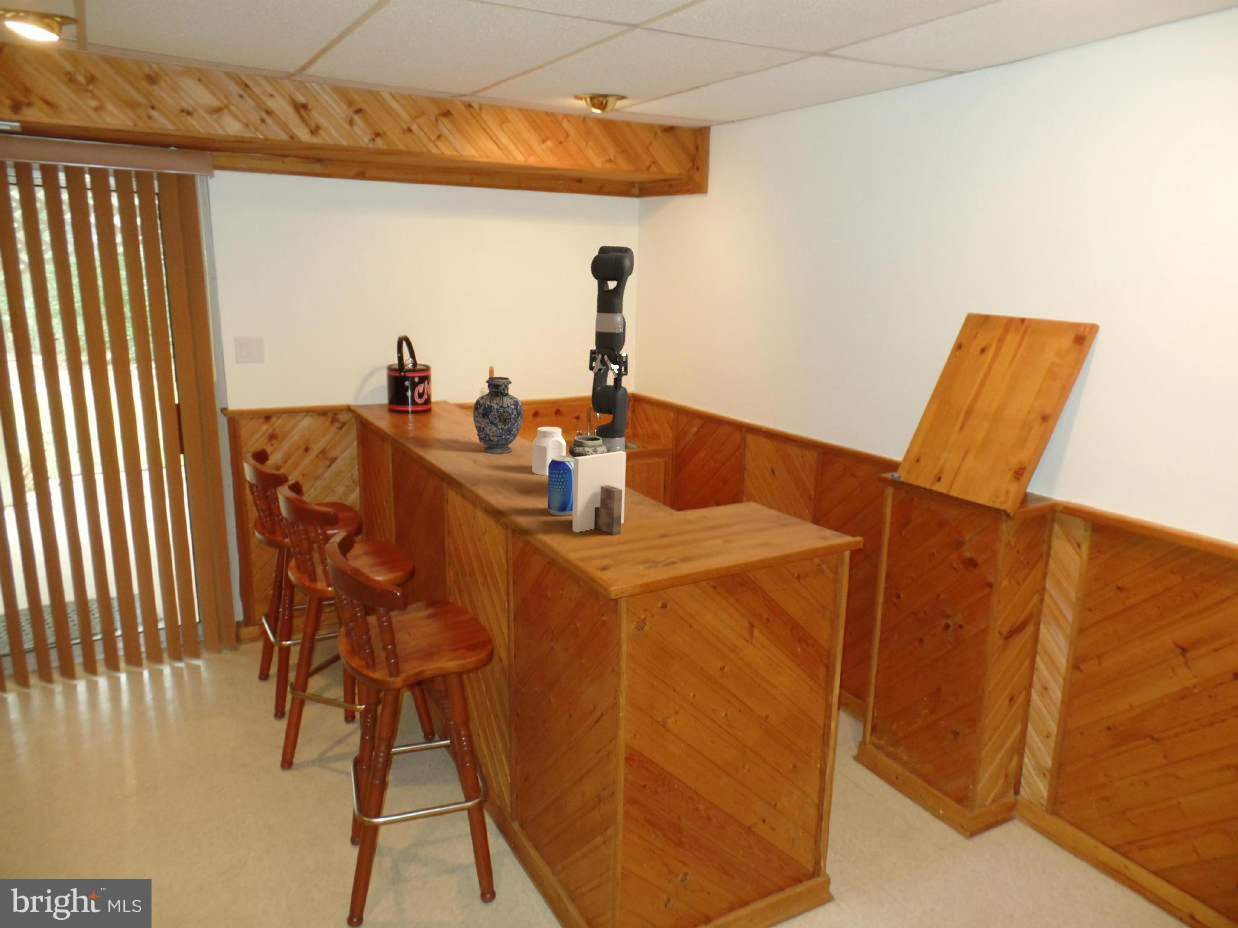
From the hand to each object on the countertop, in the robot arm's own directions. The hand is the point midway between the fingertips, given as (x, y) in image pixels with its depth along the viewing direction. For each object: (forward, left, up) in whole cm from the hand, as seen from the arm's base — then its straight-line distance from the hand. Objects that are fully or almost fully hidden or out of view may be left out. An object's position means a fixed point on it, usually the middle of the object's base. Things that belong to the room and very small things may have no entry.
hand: (607, 389), depth 234 cm
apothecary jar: (-21, -8, -36) cm, 43 cm away
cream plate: (+12, 0, -36) cm, 38 cm away
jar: (-49, -25, -36) cm, 66 cm away
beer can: (0, -12, -36) cm, 38 cm away
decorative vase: (-78, -50, -36) cm, 100 cm away
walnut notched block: (+12, 0, -36) cm, 38 cm away
